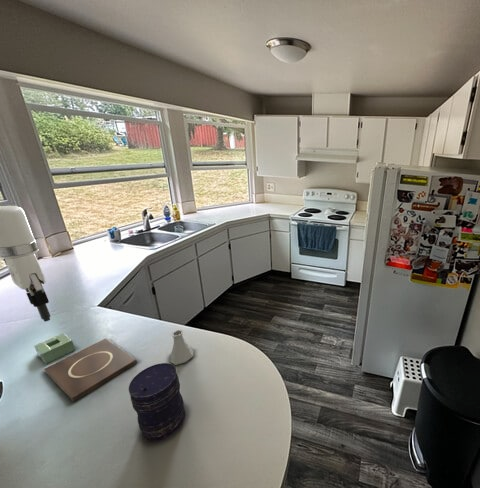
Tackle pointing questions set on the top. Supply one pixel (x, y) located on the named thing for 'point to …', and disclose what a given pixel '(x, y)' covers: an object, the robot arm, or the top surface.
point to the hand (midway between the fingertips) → (40, 303)
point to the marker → (43, 312)
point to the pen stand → (54, 348)
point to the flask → (180, 349)
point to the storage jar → (157, 401)
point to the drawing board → (89, 368)
